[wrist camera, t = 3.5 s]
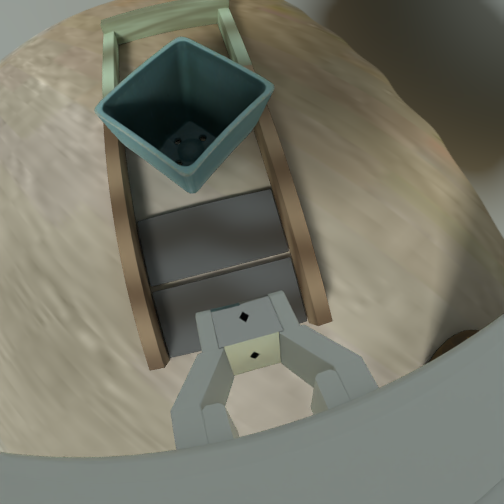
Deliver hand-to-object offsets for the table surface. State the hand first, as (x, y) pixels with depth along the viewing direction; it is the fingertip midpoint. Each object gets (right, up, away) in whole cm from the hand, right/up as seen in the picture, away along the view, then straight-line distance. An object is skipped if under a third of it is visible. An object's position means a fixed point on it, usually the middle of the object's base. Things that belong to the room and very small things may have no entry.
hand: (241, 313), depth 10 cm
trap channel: (-5, +11, +15) cm, 20 cm away
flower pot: (-5, +11, +16) cm, 20 cm away
